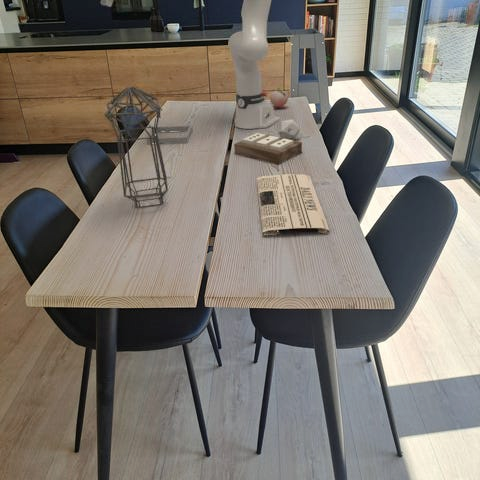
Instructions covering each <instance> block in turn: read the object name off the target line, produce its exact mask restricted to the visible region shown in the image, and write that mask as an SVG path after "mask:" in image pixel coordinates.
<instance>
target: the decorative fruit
mask: <svg viewBox="0 0 480 480" xmlns="http://www.w3.org/2000/svg"><path fill="white" fill-rule="evenodd" d="M269 100H270V103H271V105H272V106H274V107H276V108H278V109H280V108H282V107H284V106H285V105H286V104H287V103H288V100H289V95H288V93H287V92H286V91H285V90H280V89H279V88H278V89H277V88H276V89H273V90H272V92H271V94H270V95H269Z"/></svg>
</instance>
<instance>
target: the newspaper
mask: <svg viewBox="0 0 480 480" xmlns="http://www.w3.org/2000/svg"><path fill="white" fill-rule="evenodd" d="M256 186H257V187H256V188H257V195H258V196H257V197H258V207H259V214H260V225H261V233H262V236H263V237H264V238H266V236H267V237H269V236H268V235H272V236H278V235H277V234H279V235H280V230H290V229H317V231H318V233H320V234H326V235H328V234H330V228H329V225H328V223H327V219H326V218H325V217H326V216H325V215H324V212H323V209H322V207H321V204H320V201H319V198H318V196H317V192H316V190H315V187H314V184H313V182H312V179H311V177H310V175H308V174H303V173H302V174H300V173H299V174H293V173H292V174H291V173H290V174H289V173H287V174H286V173H285V174H275V175H274V174H273V175H272V174H271V175H262V176H259V177H256ZM274 230H275V231H274ZM277 230H279V232H277ZM264 234H265V235H264Z"/></svg>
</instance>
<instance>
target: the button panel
mask: <svg viewBox="0 0 480 480" xmlns="http://www.w3.org/2000/svg"><path fill="white" fill-rule="evenodd" d="M265 135H266V137H269V136H270V135H267V134H265ZM280 140H282V138H281V137H279V141H280ZM233 145H234V147H233V149H234V154H235V155H239V156H243V157H247V158H250V159H255V160H258V161H262V162H267V163H271V164H273V165H274V164H275V165H278V166H279V165H280V164H282V163H284V162H286V161H288V160H290V159H291V158H292V159H293V158H294V157H296V156H299V155H300V154H302V153H303V152H302V151H303V142H301V141H297V140H293V145H291V146H289V147H287V148H285V149H283V150H281V151H277V150H272V149H270V146H269V147H266V148H263V147H259V146H256V143H255V144H253V145H250V144H245V143H243V139H242V140H240V141H238V142H235V143H234V144H233Z"/></svg>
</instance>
